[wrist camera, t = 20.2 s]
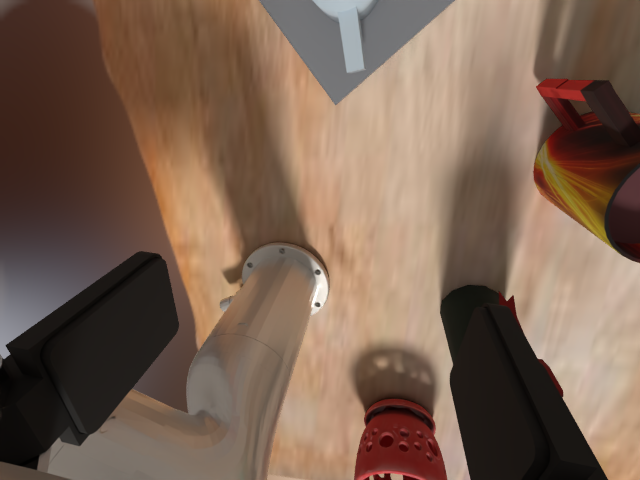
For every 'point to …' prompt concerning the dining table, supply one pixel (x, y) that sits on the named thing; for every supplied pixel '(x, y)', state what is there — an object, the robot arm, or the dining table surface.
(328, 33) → the tile
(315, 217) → the dining table surface
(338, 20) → the jug
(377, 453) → the plant pot
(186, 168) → the dining table surface
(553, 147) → the mug
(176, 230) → the dining table surface
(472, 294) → the wine bottle
